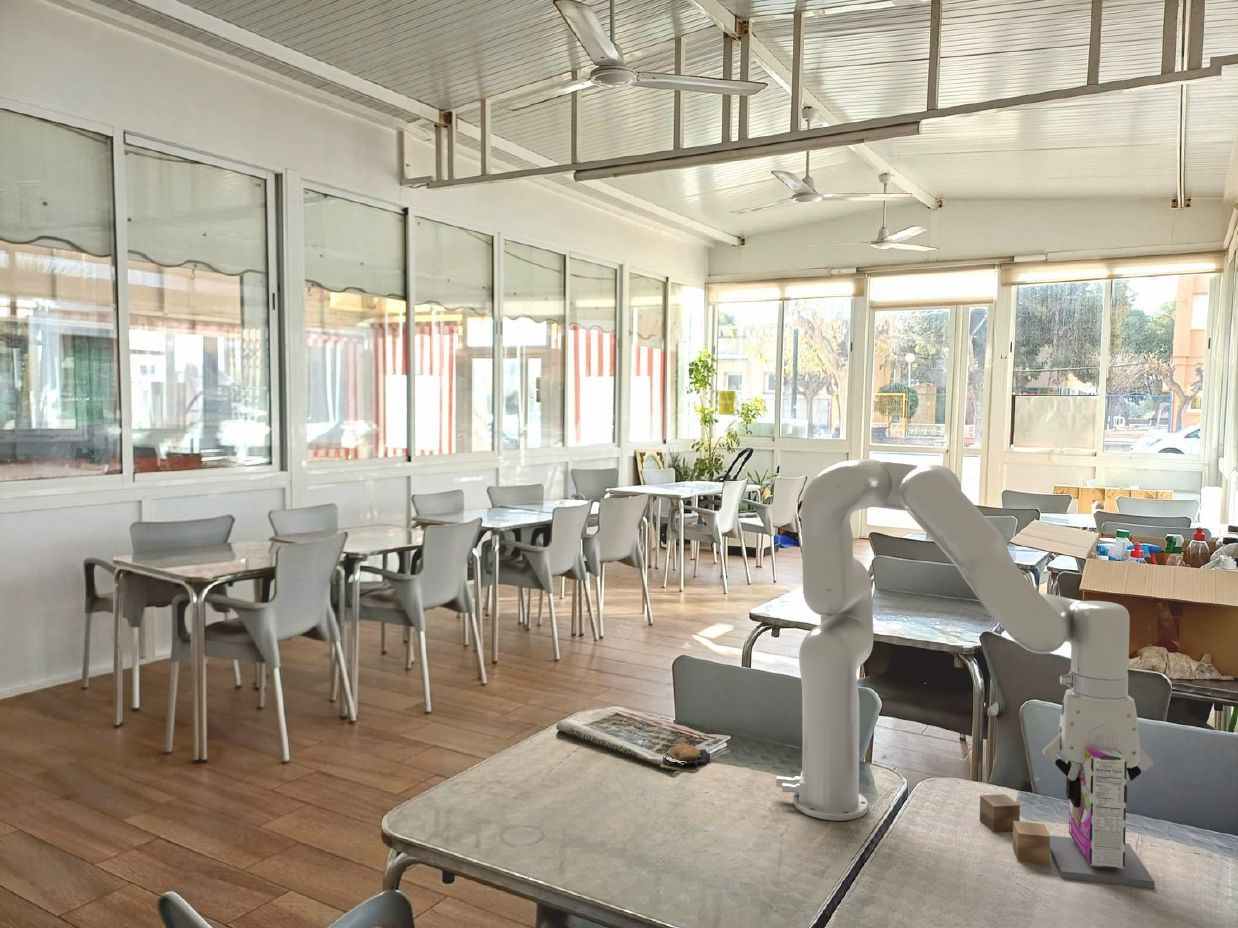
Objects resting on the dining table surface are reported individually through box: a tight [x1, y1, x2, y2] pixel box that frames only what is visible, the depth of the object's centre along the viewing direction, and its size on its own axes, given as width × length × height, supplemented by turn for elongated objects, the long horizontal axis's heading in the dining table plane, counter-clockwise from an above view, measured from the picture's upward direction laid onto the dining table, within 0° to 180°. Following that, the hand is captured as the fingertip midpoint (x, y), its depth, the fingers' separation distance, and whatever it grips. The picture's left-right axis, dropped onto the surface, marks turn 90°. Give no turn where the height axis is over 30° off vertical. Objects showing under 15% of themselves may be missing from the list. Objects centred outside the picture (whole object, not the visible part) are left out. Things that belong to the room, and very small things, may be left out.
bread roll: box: [659, 743, 712, 774], centre depth 175 cm, size 11×8×4 cm
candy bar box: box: [1068, 749, 1127, 869], centre depth 133 cm, size 11×5×16 cm, turn 168°
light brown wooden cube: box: [1012, 821, 1051, 866], centre depth 136 cm, size 4×4×4 cm
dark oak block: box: [979, 793, 1021, 834], centre depth 146 cm, size 4×4×4 cm
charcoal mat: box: [1049, 834, 1155, 889], centre depth 133 cm, size 12×12×1 cm
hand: (1095, 804), depth 133 cm, fingers closed on candy bar box, 5 cm apart
